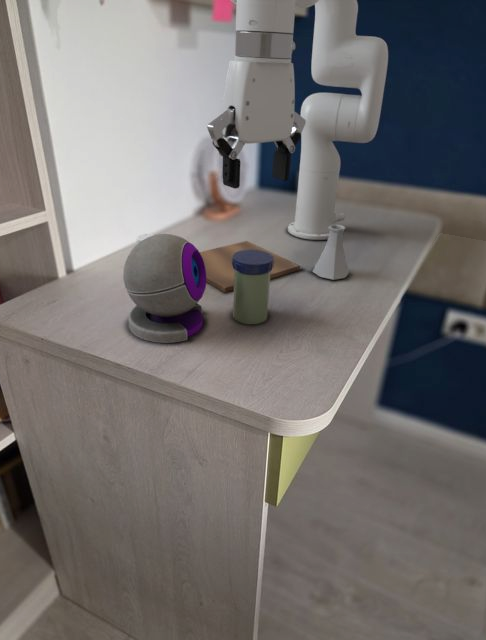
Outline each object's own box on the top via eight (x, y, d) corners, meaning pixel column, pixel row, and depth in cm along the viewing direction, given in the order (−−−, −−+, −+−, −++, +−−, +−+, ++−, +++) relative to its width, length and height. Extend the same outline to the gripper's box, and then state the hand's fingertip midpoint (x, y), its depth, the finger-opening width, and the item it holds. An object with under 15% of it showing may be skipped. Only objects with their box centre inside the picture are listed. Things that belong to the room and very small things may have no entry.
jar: (246, 305, 90) (248, 250, 84) (273, 315, 87) (278, 259, 82) (225, 317, 86) (227, 260, 80) (254, 328, 83) (257, 269, 77)
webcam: (194, 347, 77) (192, 255, 69) (115, 337, 78) (105, 246, 71) (213, 310, 88) (214, 227, 80) (144, 301, 89) (138, 219, 81)
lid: (248, 255, 86) (248, 246, 85) (280, 265, 82) (281, 256, 81) (224, 267, 81) (224, 257, 80) (257, 278, 78) (258, 268, 77)
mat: (246, 244, 117) (246, 240, 116) (300, 269, 105) (300, 265, 104) (173, 262, 106) (173, 258, 105) (224, 292, 94) (224, 287, 93)
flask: (327, 264, 108) (333, 219, 103) (354, 274, 104) (362, 227, 99) (306, 272, 104) (311, 225, 99) (334, 283, 100) (341, 235, 94)
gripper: (291, 50, 73) (282, 172, 82) (193, 46, 63) (194, 184, 72) (329, 52, 68) (314, 181, 77) (228, 48, 58) (225, 195, 67)
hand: (256, 182), depth 75 cm, fingers open, 9 cm apart
